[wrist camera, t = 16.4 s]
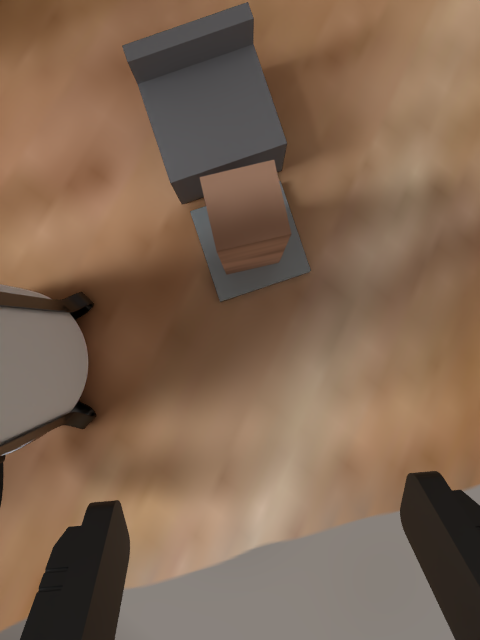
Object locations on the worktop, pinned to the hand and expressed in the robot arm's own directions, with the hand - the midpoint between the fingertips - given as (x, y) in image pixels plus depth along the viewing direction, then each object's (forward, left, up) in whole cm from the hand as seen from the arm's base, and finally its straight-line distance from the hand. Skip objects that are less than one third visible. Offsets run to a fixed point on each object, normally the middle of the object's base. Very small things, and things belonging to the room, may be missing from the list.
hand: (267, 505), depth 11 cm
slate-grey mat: (-12, +3, -22) cm, 26 cm away
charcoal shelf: (-21, +3, -22) cm, 31 cm away
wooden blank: (-12, +3, -22) cm, 25 cm away
